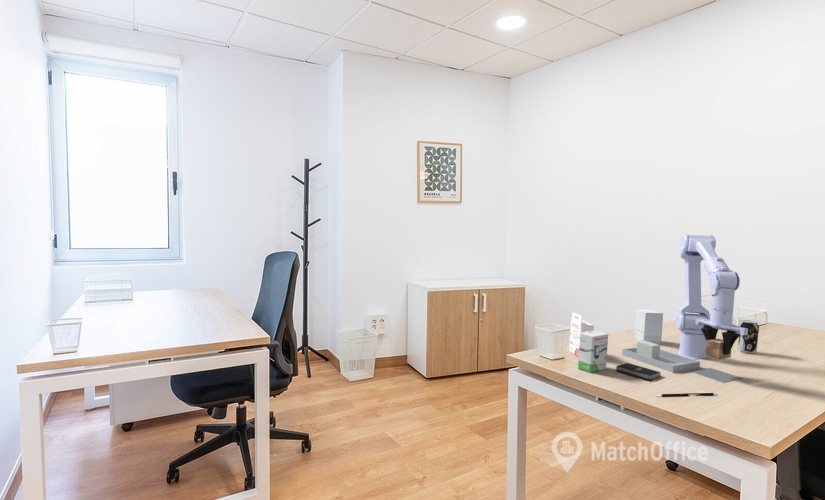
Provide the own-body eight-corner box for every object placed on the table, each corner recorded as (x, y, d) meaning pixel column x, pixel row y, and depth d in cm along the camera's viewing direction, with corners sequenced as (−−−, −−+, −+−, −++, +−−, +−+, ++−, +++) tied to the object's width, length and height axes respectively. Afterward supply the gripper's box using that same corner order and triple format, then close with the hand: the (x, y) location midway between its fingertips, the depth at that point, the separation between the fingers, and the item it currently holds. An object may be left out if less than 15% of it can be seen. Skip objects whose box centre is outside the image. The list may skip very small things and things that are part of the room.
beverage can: (740, 353, 166) (743, 321, 165) (735, 349, 171) (738, 318, 170) (759, 355, 164) (761, 323, 163) (753, 351, 169) (756, 320, 168)
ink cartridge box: (592, 358, 154) (595, 316, 153) (579, 358, 154) (581, 316, 153) (581, 350, 163) (583, 311, 162) (568, 350, 162) (570, 311, 161)
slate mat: (710, 369, 146) (710, 367, 146) (743, 379, 137) (743, 378, 137) (690, 372, 142) (690, 371, 142) (723, 383, 133) (723, 382, 133)
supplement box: (661, 344, 175) (664, 313, 174) (642, 344, 175) (645, 312, 174) (651, 339, 182) (654, 309, 181) (633, 339, 182) (635, 308, 181)
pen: (718, 396, 123) (718, 392, 123) (656, 398, 121) (656, 394, 121) (715, 395, 124) (716, 391, 124) (653, 396, 122) (654, 392, 122)
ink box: (590, 373, 139) (592, 336, 138) (577, 368, 143) (579, 332, 142) (606, 368, 143) (609, 333, 142) (593, 364, 148) (595, 329, 147)
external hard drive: (650, 383, 132) (650, 376, 132) (614, 372, 141) (615, 366, 141) (661, 378, 137) (661, 372, 136) (626, 368, 145) (626, 362, 145)
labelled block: (705, 355, 139) (706, 339, 139) (717, 353, 142) (718, 338, 142) (718, 359, 136) (719, 343, 135) (730, 357, 138) (731, 341, 138)
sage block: (644, 354, 159) (645, 340, 159) (659, 359, 154) (660, 345, 154) (636, 355, 158) (637, 341, 157) (651, 360, 152) (652, 346, 152)
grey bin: (647, 352, 163) (648, 345, 163) (699, 369, 146) (700, 361, 146) (622, 355, 158) (622, 349, 158) (672, 373, 140) (673, 366, 140)
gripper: (690, 305, 143) (687, 346, 144) (739, 315, 130) (735, 360, 131) (704, 304, 146) (701, 345, 147) (753, 313, 132) (749, 358, 133)
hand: (718, 352), depth 139 cm, fingers closed on labelled block, 4 cm apart
